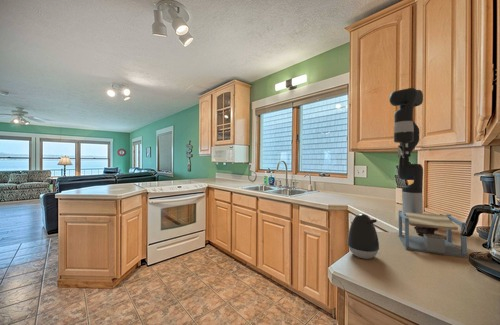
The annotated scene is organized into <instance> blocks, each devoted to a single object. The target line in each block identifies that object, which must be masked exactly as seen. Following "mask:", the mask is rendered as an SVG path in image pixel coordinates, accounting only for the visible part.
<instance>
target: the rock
mask: <svg viewBox="0 0 500 325" xmlns="http://www.w3.org/2000/svg"><path fill="white" fill-rule="evenodd" d="M413 228H414V230H416V231H415V232H416V234H418V235H422V236H424V234H431V235H435V233H436V232H437V231H438V230H439V228H430V227H420V226H413Z"/></svg>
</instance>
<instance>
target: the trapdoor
mask: <svg viewBox="0 0 500 325" xmlns="http://www.w3.org/2000/svg"><path fill="white" fill-rule="evenodd" d="M404 215H405V216H406V217H408V218H409V223H410V224H409V226H412V227H415V226H420V227H430V228H438V229H441V230H442V229H443V230H447V229H450V230H451V231H458V229H459V228H458V226H457V224H456V223H454V222H453V221H451V220H450V218H449V217H447V216H446V215H445V214H444V215H443V214H433V213H431V214H430V213H423V214H421V213H408V212H405V214H404Z"/></svg>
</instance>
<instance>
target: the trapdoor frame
mask: <svg viewBox="0 0 500 325" xmlns="http://www.w3.org/2000/svg"><path fill="white" fill-rule="evenodd" d="M397 214H398V238H399V240H400V241H401V243H402V245H403V247H404V248H405V250H408V251H414V252H415V251H417V252H423V253H430V254H438V255H443V256H451V257H460V258H465V257H466V259H469V254H468V238H467V237H468V236H461V235H460V247H459V246H457V245H456V244H455V243H454V242H453V240H452V230H450V229H446V239H445V253H438V252H431V251H427V250H426V248H425V247H424V236H414V235H410V224H409V218H408V217H406V216H405V215H404V214H403V213H402V210H398V213H397ZM446 216H447V217H449V218H450V220H451V221H452V222H453V223H454V224H455V225H458V226H460V234H461V233H462V231H463V228H464V226H465V230H464V232H466V233H468V231H467V230H468V228H467V222H466V221H465V222H464V221H461V220H459V219H457V218H455V217H454V216H452V214H449V213H447V214H446ZM403 220H404V222H403ZM403 223H404V234H403ZM465 224H466V225H465Z"/></svg>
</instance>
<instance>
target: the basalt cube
mask: <svg viewBox="0 0 500 325" xmlns="http://www.w3.org/2000/svg"><path fill="white" fill-rule="evenodd" d="M423 237H424V247H425V248H426V250H427V251H431V252H438V253H445V240H446V239H445V238H444V237H443V236H442V235H438V234H433V235H431V234H424V235H423Z"/></svg>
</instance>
